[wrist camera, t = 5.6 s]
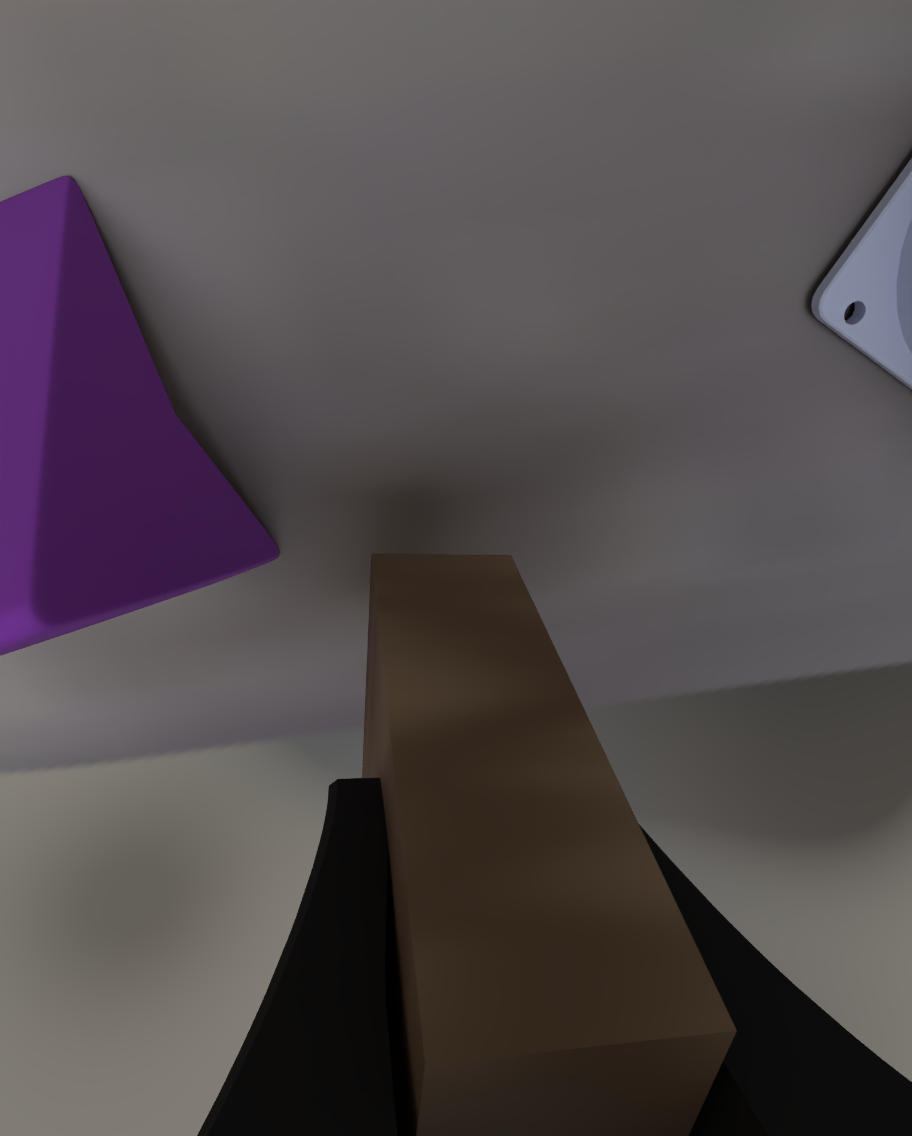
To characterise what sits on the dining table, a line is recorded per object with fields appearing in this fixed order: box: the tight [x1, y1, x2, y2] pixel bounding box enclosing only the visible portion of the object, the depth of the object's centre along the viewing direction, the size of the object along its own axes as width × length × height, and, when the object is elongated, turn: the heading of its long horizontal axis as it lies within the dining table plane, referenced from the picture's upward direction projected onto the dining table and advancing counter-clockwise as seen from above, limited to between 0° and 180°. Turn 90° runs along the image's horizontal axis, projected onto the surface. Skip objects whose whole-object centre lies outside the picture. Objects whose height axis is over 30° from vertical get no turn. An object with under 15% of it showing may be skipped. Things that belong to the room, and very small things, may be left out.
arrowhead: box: [0, 176, 279, 655], centre depth 14 cm, size 10×2×10 cm
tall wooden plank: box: [362, 553, 737, 1136], centre depth 10 cm, size 2×5×8 cm, turn 174°
